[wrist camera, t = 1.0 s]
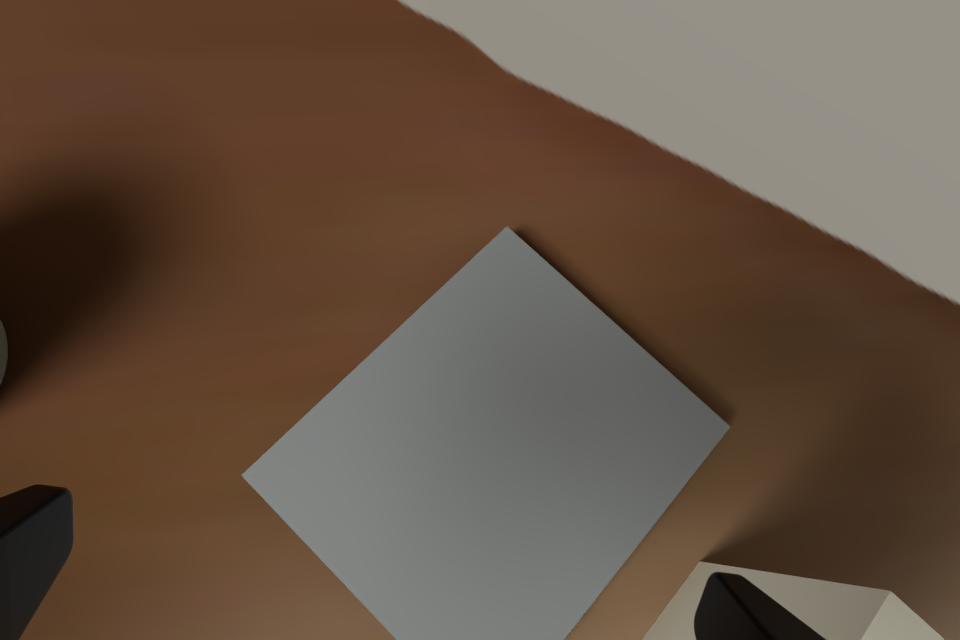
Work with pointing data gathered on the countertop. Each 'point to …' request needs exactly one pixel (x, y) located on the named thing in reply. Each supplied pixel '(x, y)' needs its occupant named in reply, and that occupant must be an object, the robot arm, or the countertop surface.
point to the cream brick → (803, 607)
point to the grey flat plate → (489, 457)
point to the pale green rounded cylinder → (3, 352)
